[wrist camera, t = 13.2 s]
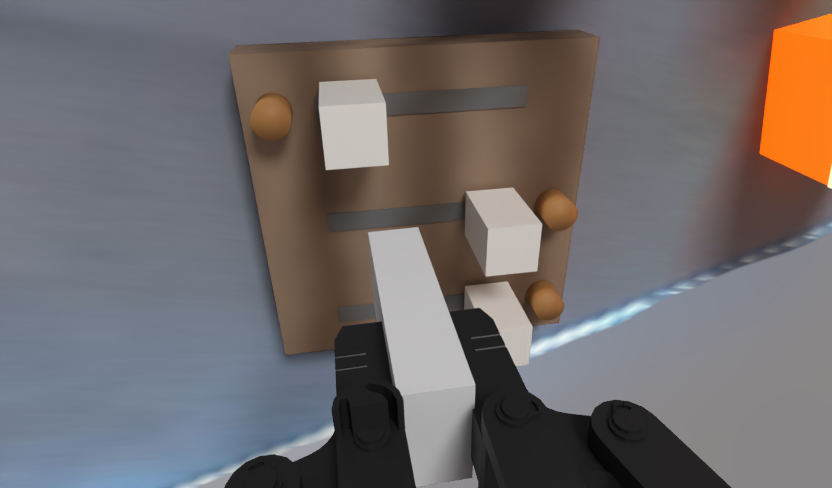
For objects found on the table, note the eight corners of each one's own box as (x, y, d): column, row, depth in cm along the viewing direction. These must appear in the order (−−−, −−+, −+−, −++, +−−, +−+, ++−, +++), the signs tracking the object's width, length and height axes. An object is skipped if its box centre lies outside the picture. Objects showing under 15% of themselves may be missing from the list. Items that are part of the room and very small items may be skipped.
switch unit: (288, 328, 39) (283, 375, 35) (236, 45, 29) (222, 62, 25) (544, 299, 41) (569, 340, 37) (577, 29, 32) (617, 42, 27)
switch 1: (325, 137, 29) (325, 169, 25) (319, 82, 27) (318, 106, 23) (379, 133, 29) (388, 165, 25) (376, 78, 28) (385, 102, 24)
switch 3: (463, 321, 37) (482, 370, 33) (464, 285, 35) (484, 332, 31) (504, 316, 37) (528, 364, 33) (507, 281, 36) (532, 326, 31)
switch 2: (464, 234, 33) (485, 276, 29) (465, 191, 32) (488, 229, 28) (509, 230, 34) (537, 271, 29) (513, 187, 32) (542, 224, 28)
